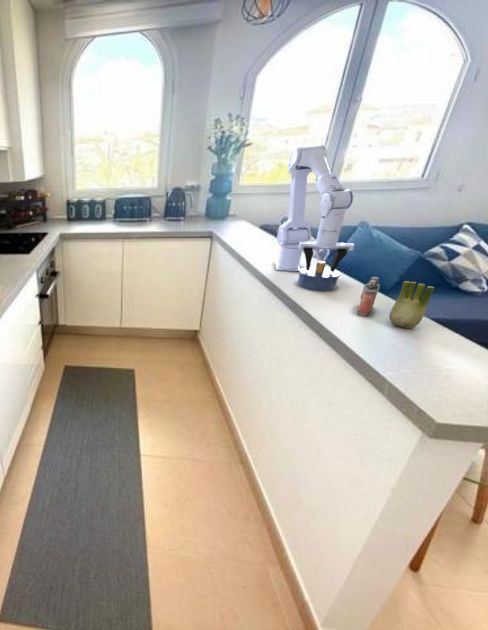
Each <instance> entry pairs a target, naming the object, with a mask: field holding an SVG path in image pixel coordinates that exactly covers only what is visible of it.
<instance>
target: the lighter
mask: <svg viewBox="0 0 488 630" xmlns="http://www.w3.org/2000/svg"><path fill="white" fill-rule="evenodd" d="M379 280H380V279H379V276H378V277H377V276H372V277H370V280H368V281H369V282H367V283H365V284H364V285H363V289H362V292H361V294H360V300H359V305H358V306H357V308H356V311H355V312H356V315H357V316H360V317H369V316H370V315H372V313H373V311H374V304H375V301H376V298H377V296H378V293H379V291H380V288H381V284H379Z"/></svg>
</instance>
